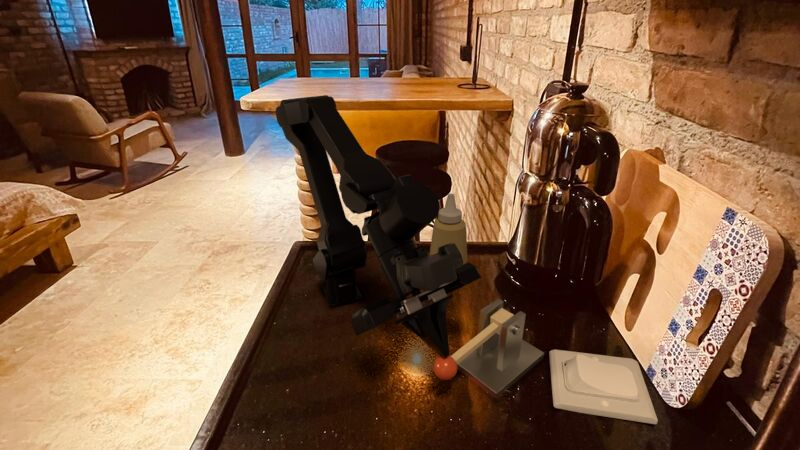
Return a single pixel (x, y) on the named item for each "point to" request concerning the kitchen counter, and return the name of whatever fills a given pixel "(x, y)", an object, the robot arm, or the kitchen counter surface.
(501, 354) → the bracket
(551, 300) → the kitchen counter surface
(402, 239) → the robot arm
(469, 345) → the lever
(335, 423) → the kitchen counter surface
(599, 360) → the light switch
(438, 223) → the squeeze bottle
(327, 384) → the kitchen counter surface
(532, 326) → the kitchen counter surface
